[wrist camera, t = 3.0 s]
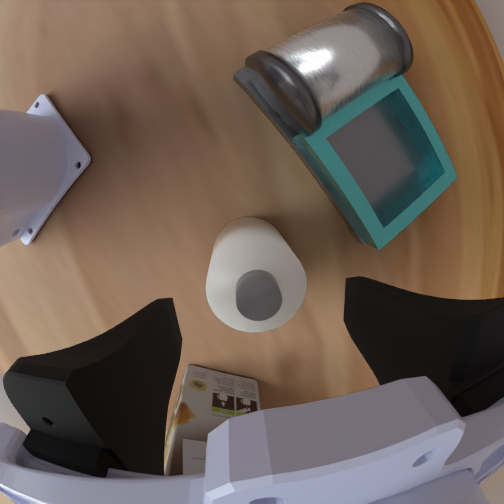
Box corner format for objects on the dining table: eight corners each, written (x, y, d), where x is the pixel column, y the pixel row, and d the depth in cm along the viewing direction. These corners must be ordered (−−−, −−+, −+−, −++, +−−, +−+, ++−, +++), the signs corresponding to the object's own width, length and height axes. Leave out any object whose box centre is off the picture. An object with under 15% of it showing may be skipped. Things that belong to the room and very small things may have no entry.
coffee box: (185, 361, 21) (156, 551, 6) (259, 378, 22) (285, 558, 7) (168, 422, 23) (147, 560, 8) (228, 435, 24) (233, 570, 9)
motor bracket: (357, 240, 19) (403, 270, 13) (233, 78, 15) (234, 38, 9) (439, 168, 18) (494, 175, 12) (337, 20, 14) (372, -20, 8)
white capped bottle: (244, 298, 20) (250, 361, 13) (198, 248, 18) (180, 294, 12) (298, 256, 19) (332, 304, 12) (254, 202, 18) (269, 223, 11)
